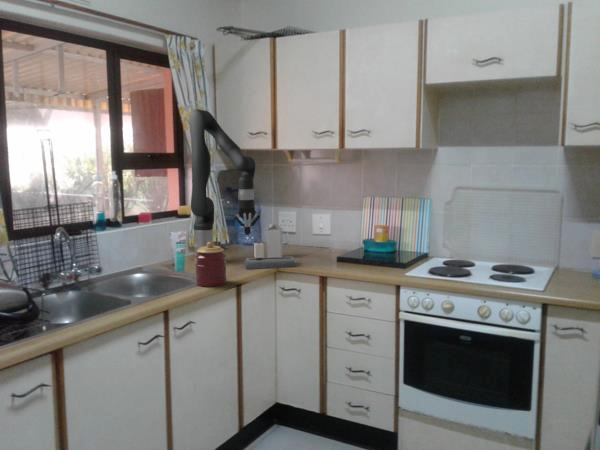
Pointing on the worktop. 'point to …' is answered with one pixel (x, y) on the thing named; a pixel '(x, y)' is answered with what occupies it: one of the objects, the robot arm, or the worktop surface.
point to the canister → (210, 266)
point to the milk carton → (274, 241)
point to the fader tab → (259, 251)
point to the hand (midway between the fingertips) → (247, 234)
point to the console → (269, 262)
